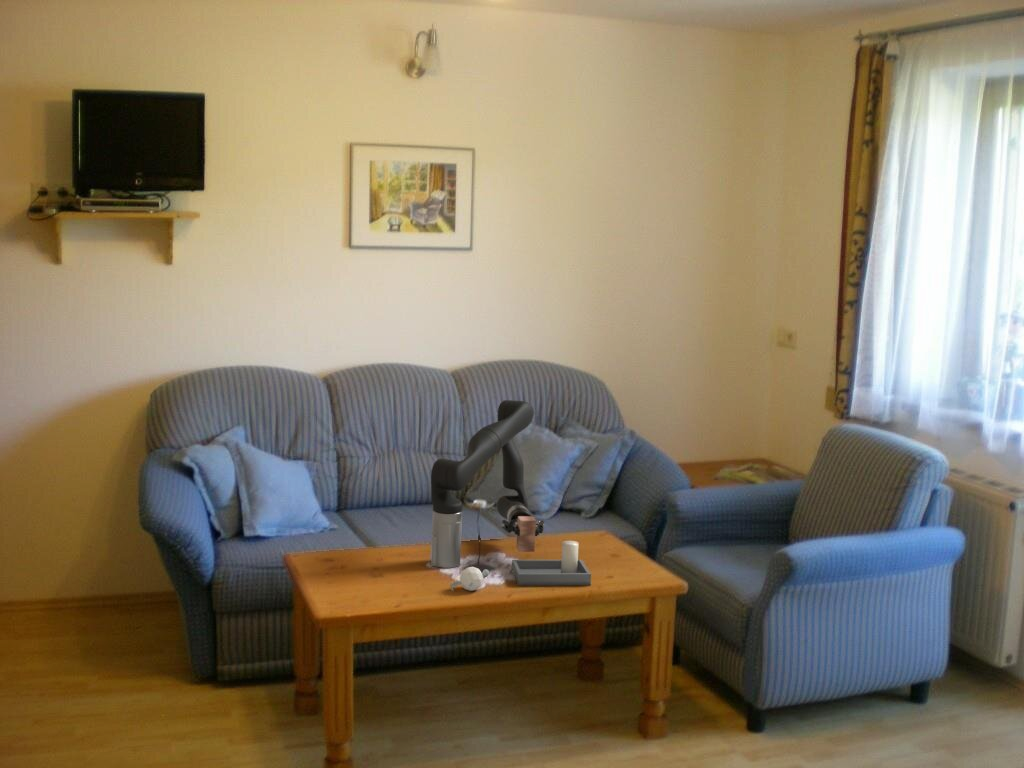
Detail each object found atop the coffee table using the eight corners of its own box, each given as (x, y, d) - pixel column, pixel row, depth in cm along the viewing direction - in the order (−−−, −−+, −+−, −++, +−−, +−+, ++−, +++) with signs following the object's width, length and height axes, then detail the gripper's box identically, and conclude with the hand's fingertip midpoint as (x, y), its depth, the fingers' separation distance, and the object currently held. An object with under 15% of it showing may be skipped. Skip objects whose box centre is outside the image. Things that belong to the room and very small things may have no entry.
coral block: (518, 551, 343) (520, 520, 342) (516, 547, 348) (517, 516, 347) (534, 551, 344) (536, 520, 343) (531, 547, 349) (533, 516, 348)
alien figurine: (458, 602, 318) (495, 586, 321) (450, 580, 317) (488, 564, 319) (451, 594, 325) (488, 578, 328) (444, 572, 324) (481, 557, 326)
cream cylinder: (562, 577, 334) (563, 545, 333) (559, 571, 339) (560, 540, 338) (578, 577, 335) (580, 545, 334) (575, 571, 340) (576, 540, 339)
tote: (518, 585, 328) (518, 574, 328) (511, 570, 342) (512, 559, 341) (590, 585, 331) (591, 574, 331) (581, 570, 345) (581, 559, 344)
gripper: (498, 507, 358) (505, 521, 341) (542, 507, 360) (551, 521, 343) (497, 529, 359) (504, 544, 342) (540, 530, 361) (549, 544, 344)
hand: (527, 532), depth 343 cm, fingers closed on coral block, 5 cm apart
